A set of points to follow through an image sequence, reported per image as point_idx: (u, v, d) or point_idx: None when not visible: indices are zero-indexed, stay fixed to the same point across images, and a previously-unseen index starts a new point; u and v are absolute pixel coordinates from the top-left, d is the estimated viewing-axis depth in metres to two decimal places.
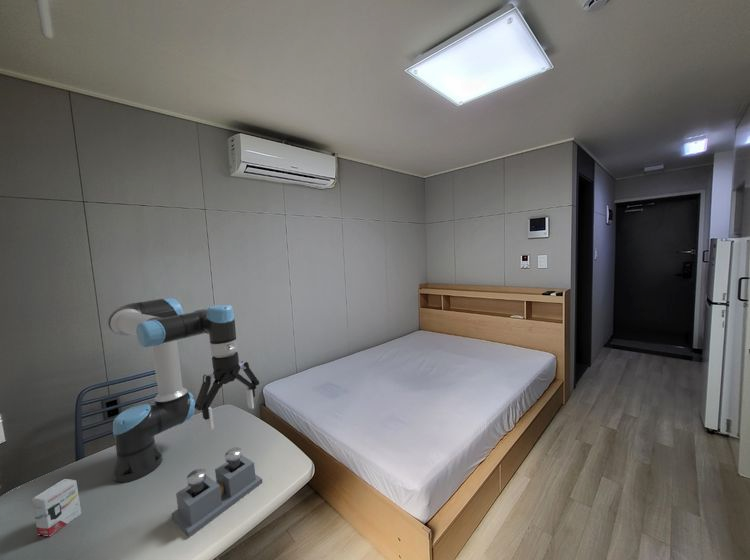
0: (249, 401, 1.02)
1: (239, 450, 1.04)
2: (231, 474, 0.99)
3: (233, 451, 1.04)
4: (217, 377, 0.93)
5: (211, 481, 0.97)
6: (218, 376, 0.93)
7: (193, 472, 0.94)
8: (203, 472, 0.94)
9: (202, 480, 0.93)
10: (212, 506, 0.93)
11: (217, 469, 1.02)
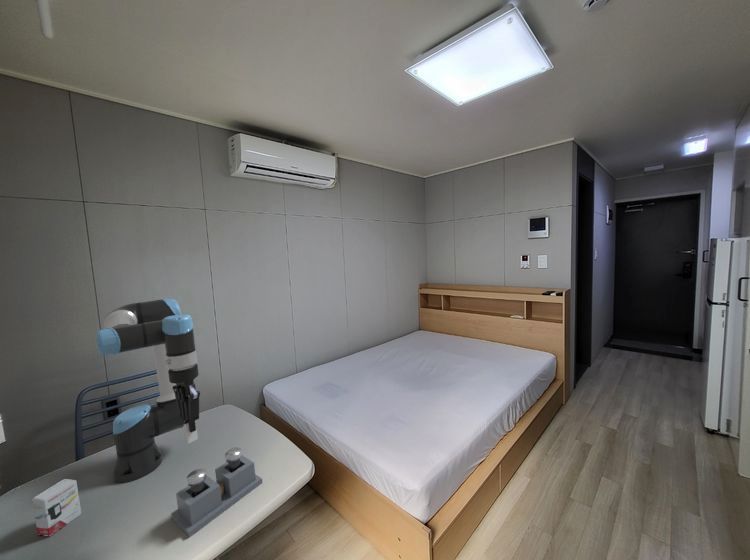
0: None
1: (239, 450, 1.04)
2: (231, 474, 0.99)
3: (233, 451, 1.04)
4: (176, 385, 0.92)
5: (211, 481, 0.97)
6: (176, 384, 0.92)
7: (193, 472, 0.94)
8: (203, 472, 0.94)
9: (202, 480, 0.93)
10: (212, 506, 0.93)
11: (217, 469, 1.02)
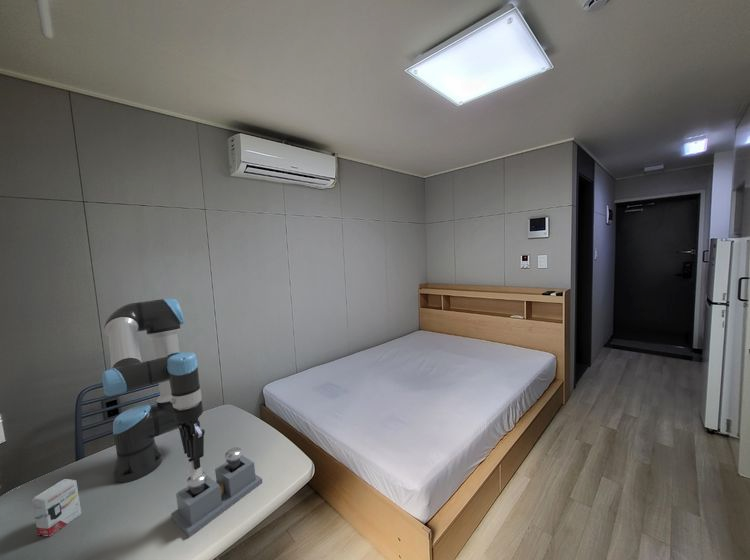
0: None
1: (239, 450, 1.04)
2: (231, 474, 0.99)
3: (233, 451, 1.04)
4: None
5: (211, 481, 0.97)
6: None
7: None
8: (203, 475, 0.94)
9: (202, 483, 0.93)
10: (212, 506, 0.93)
11: (217, 469, 1.02)
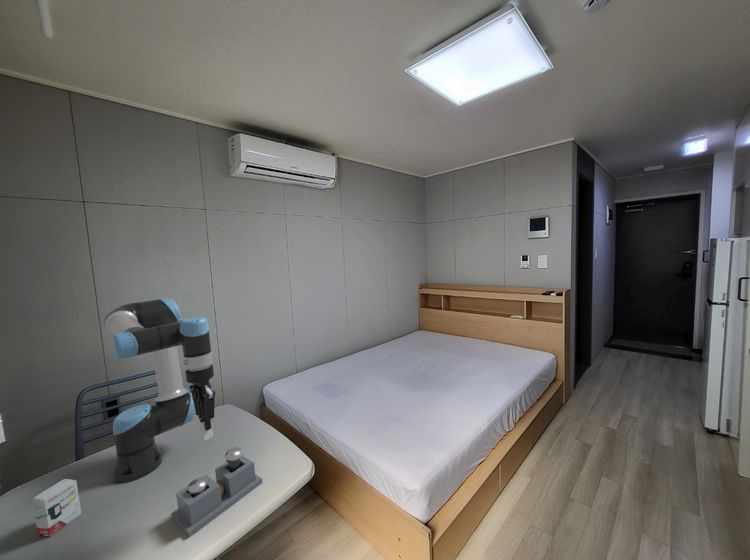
0: None
1: (239, 450, 1.04)
2: (231, 474, 0.99)
3: (233, 451, 1.04)
4: (193, 384, 0.96)
5: (211, 481, 0.97)
6: (193, 384, 0.96)
7: (194, 481, 0.95)
8: (204, 481, 0.94)
9: (203, 489, 0.93)
10: (212, 506, 0.93)
11: (217, 469, 1.02)
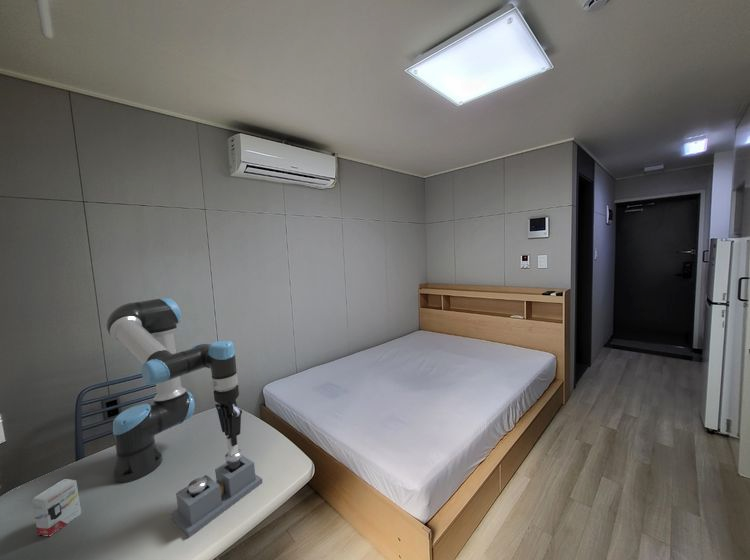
0: None
1: (239, 451, 1.04)
2: (231, 474, 0.99)
3: None
4: (219, 403, 1.03)
5: (211, 481, 0.97)
6: (219, 403, 1.03)
7: (194, 481, 0.95)
8: (204, 481, 0.94)
9: (203, 489, 0.93)
10: (212, 506, 0.93)
11: (217, 469, 1.02)
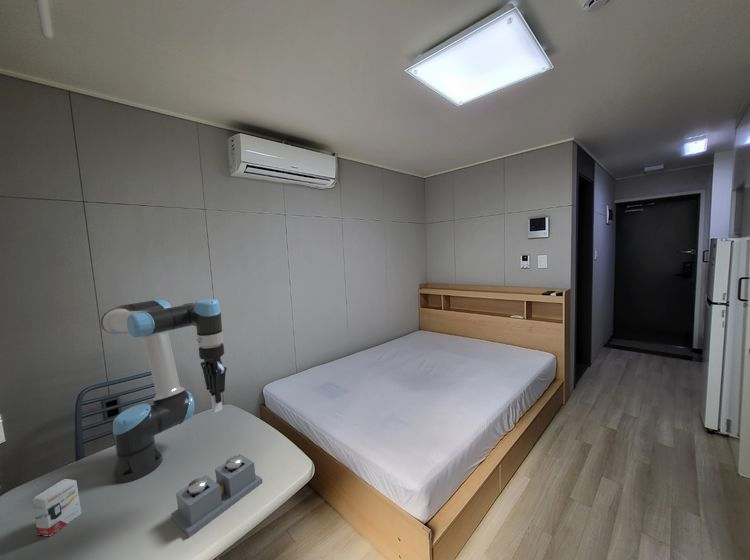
0: None
1: (240, 458, 1.04)
2: (231, 474, 0.99)
3: (234, 459, 1.04)
4: (204, 361, 1.04)
5: (211, 481, 0.97)
6: (204, 361, 1.03)
7: (194, 481, 0.95)
8: (204, 481, 0.94)
9: (203, 489, 0.93)
10: (212, 506, 0.93)
11: (217, 469, 1.02)
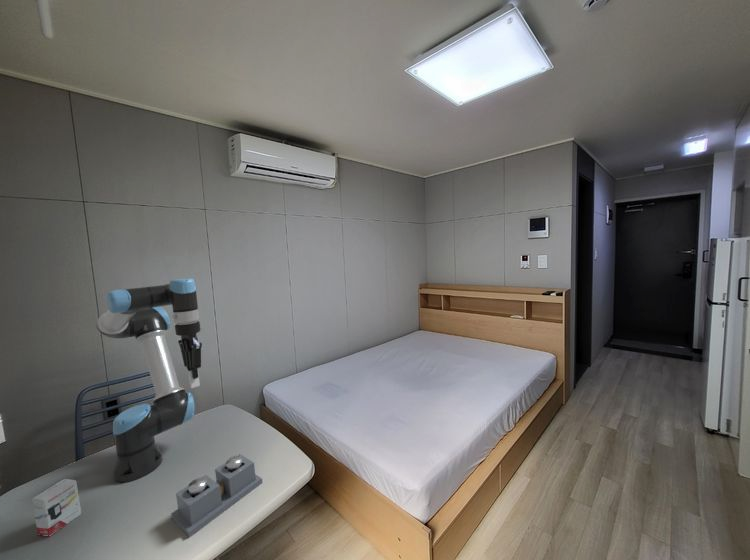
0: None
1: (240, 458, 1.04)
2: (231, 474, 0.99)
3: (234, 459, 1.04)
4: (181, 339, 1.08)
5: (211, 481, 0.97)
6: (181, 338, 1.07)
7: (194, 481, 0.95)
8: (204, 481, 0.94)
9: (203, 489, 0.93)
10: (212, 506, 0.93)
11: (217, 469, 1.02)
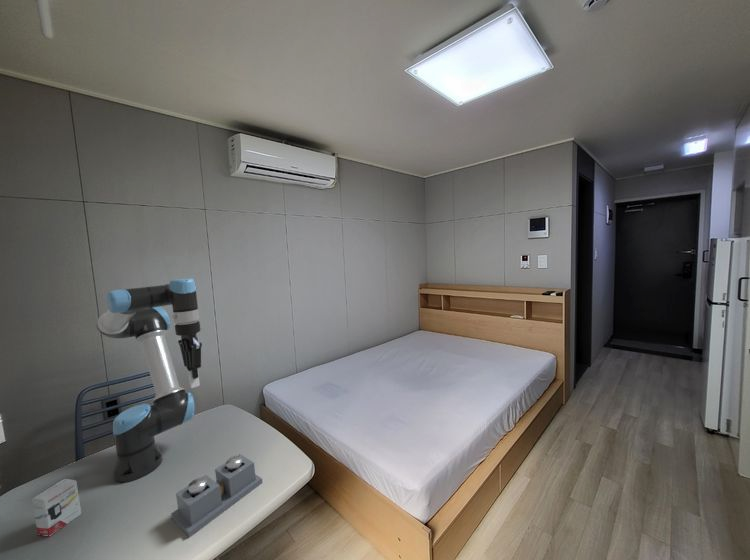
0: None
1: (240, 458, 1.04)
2: (231, 474, 0.99)
3: (234, 459, 1.04)
4: (181, 339, 1.08)
5: (211, 481, 0.97)
6: (181, 338, 1.07)
7: (194, 481, 0.95)
8: (204, 481, 0.94)
9: (203, 489, 0.93)
10: (212, 506, 0.93)
11: (217, 469, 1.02)
